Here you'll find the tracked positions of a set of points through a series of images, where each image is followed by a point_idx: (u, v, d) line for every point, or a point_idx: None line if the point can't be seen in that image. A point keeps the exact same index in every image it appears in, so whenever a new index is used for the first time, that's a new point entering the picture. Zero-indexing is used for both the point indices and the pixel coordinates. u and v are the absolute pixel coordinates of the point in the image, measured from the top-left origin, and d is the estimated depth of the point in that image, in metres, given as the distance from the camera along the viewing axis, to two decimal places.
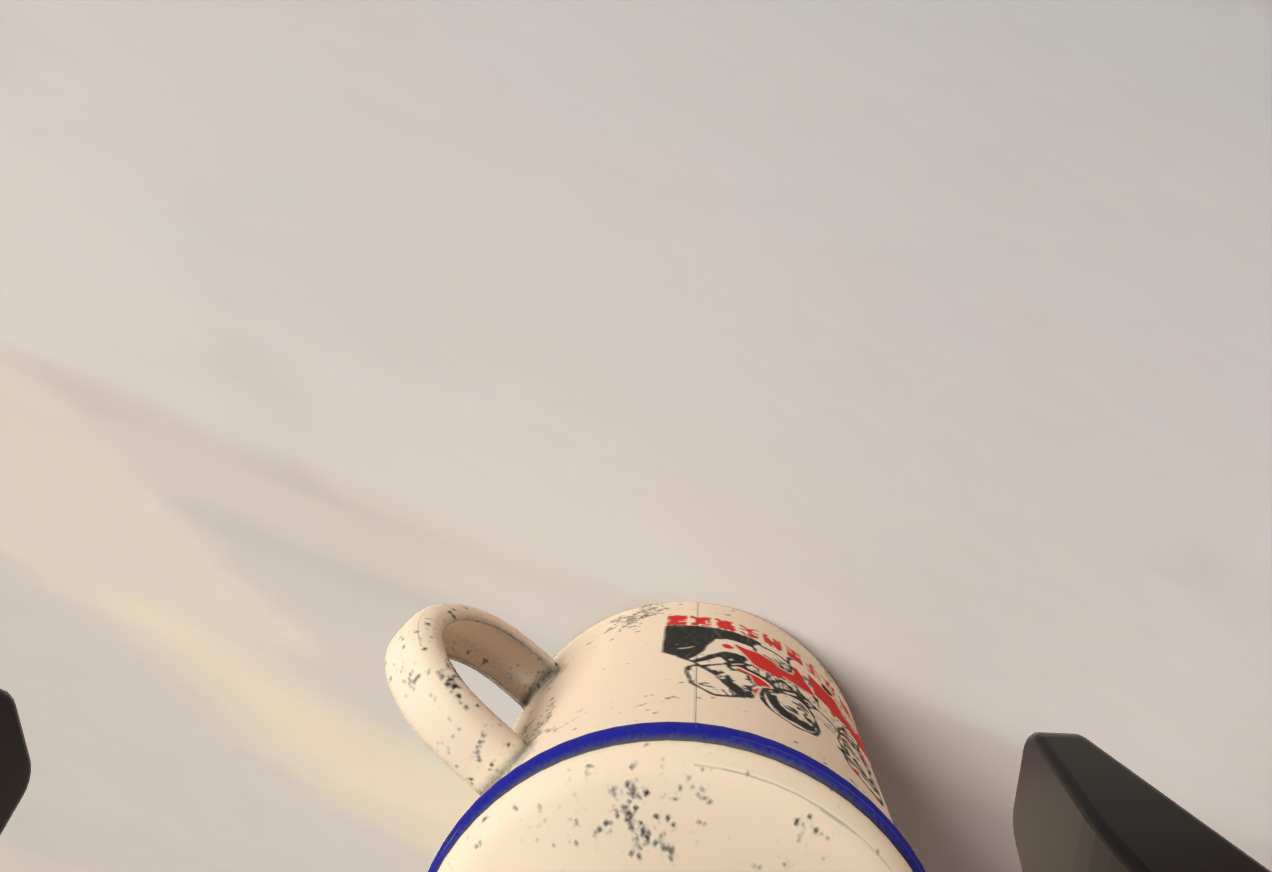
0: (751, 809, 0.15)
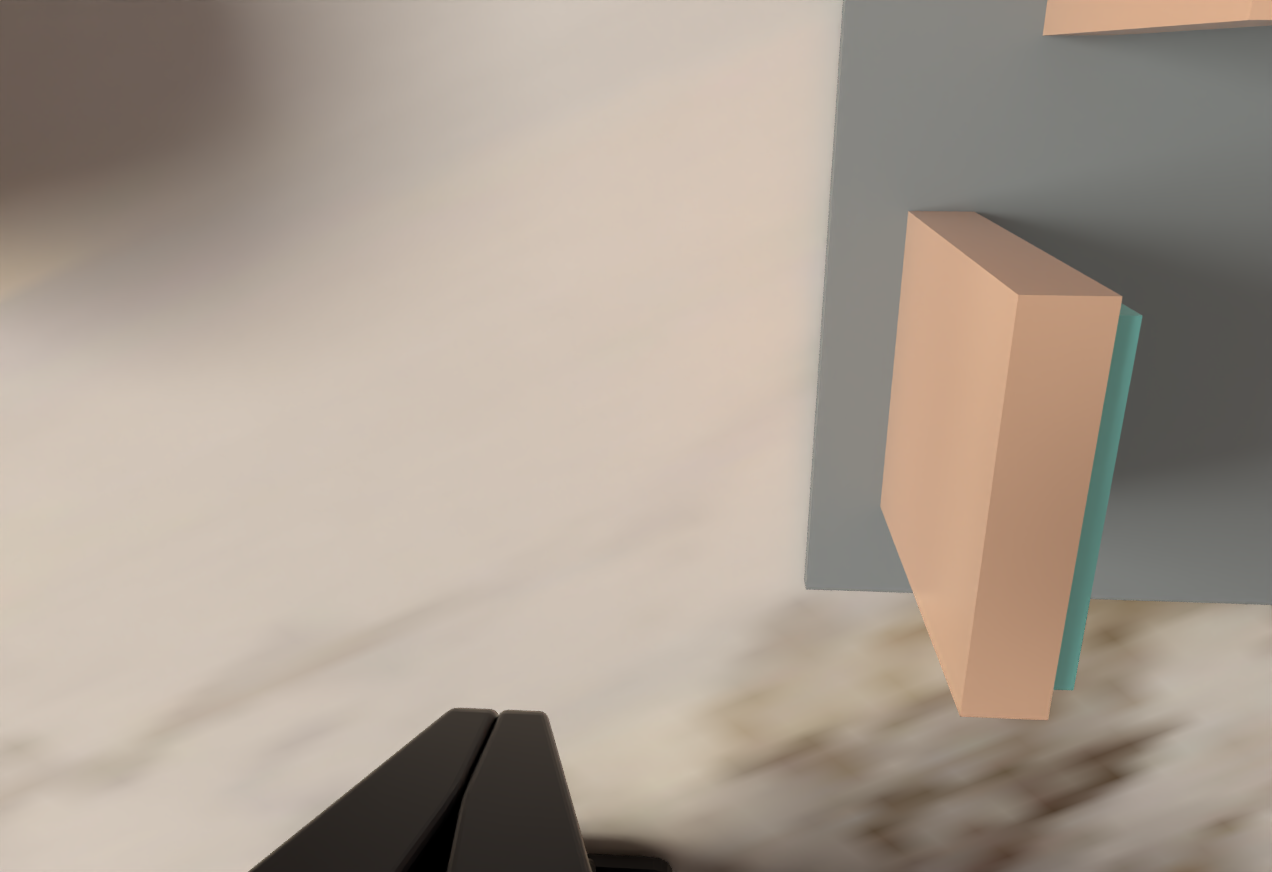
0: None
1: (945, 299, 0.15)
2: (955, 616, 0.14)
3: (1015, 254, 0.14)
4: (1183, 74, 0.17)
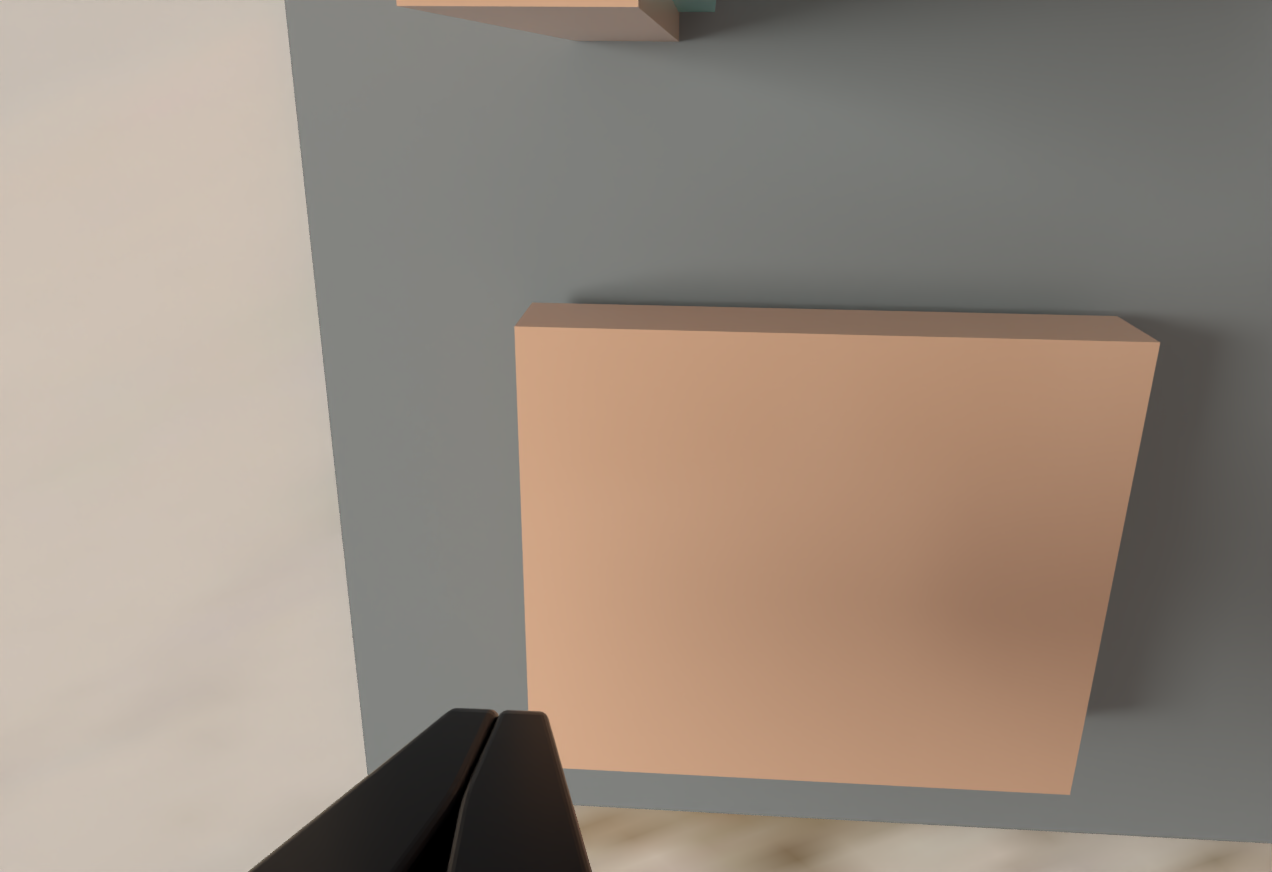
0: None
1: (828, 408, 0.11)
2: (1014, 720, 0.12)
3: (891, 320, 0.11)
4: (786, 100, 0.12)
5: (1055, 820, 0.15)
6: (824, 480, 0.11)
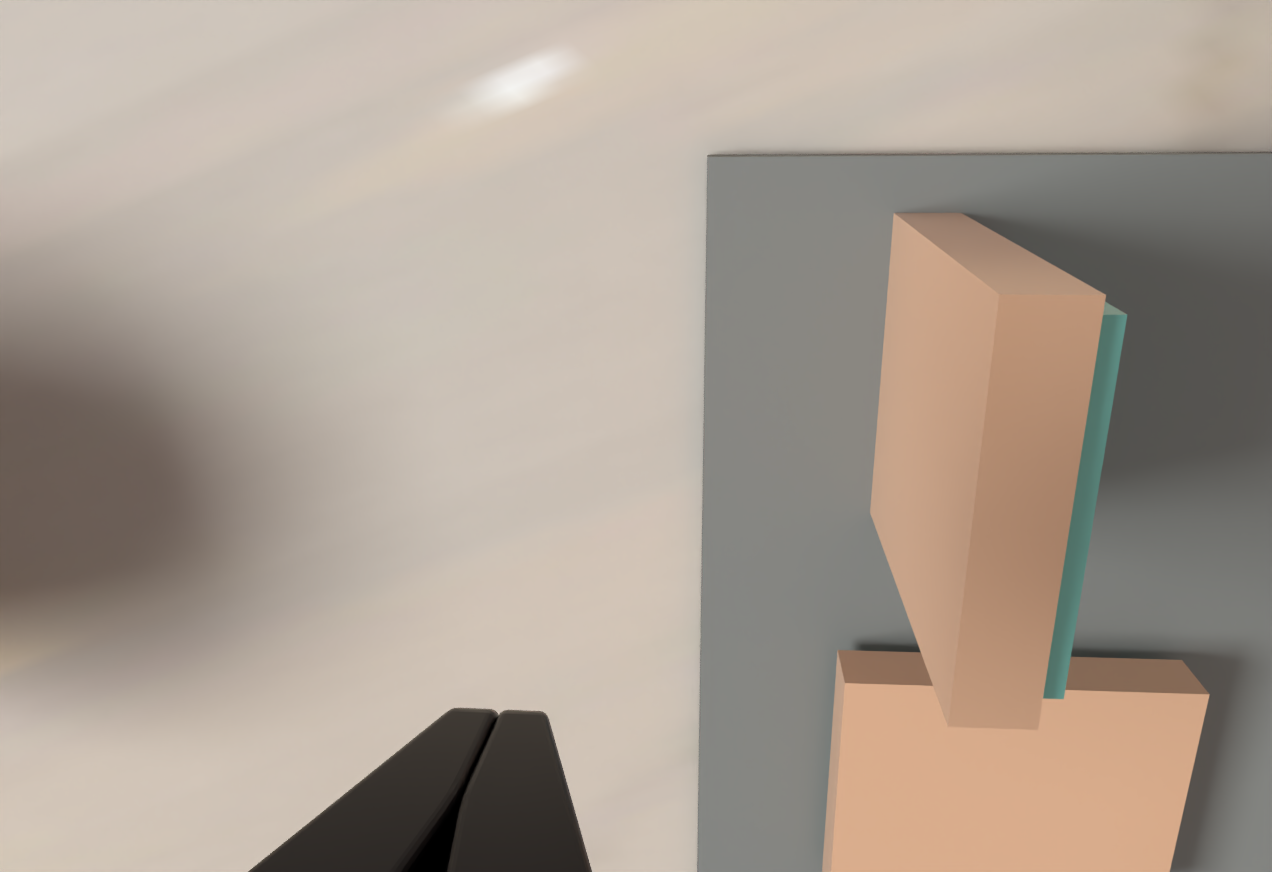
0: None
1: None
2: None
3: None
4: None
5: None
6: (1017, 761, 0.20)
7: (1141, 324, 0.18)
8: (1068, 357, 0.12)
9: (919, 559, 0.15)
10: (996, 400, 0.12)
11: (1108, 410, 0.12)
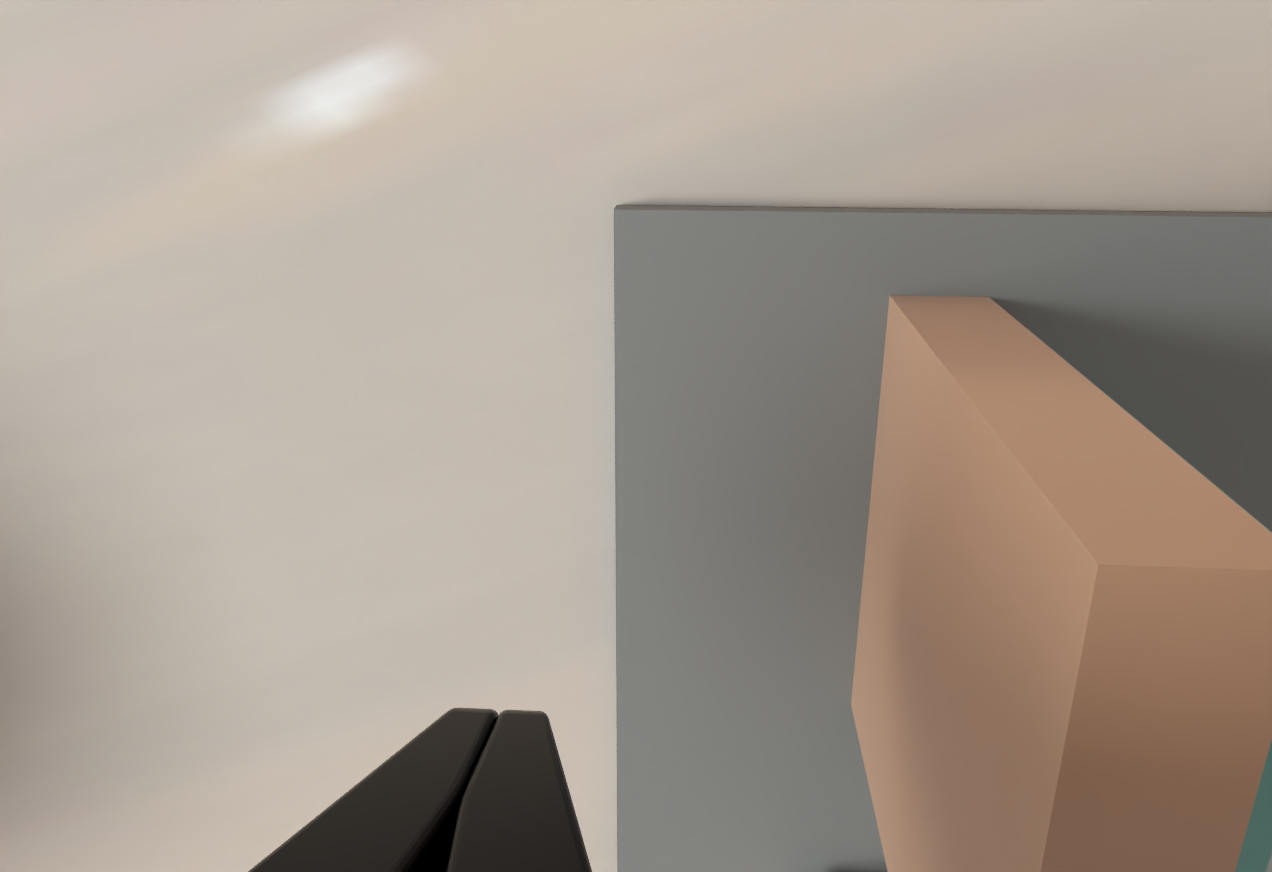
0: None
1: None
2: None
3: None
4: None
5: None
6: None
7: (1250, 460, 0.13)
8: (1231, 682, 0.06)
9: None
10: (1082, 751, 0.06)
11: None
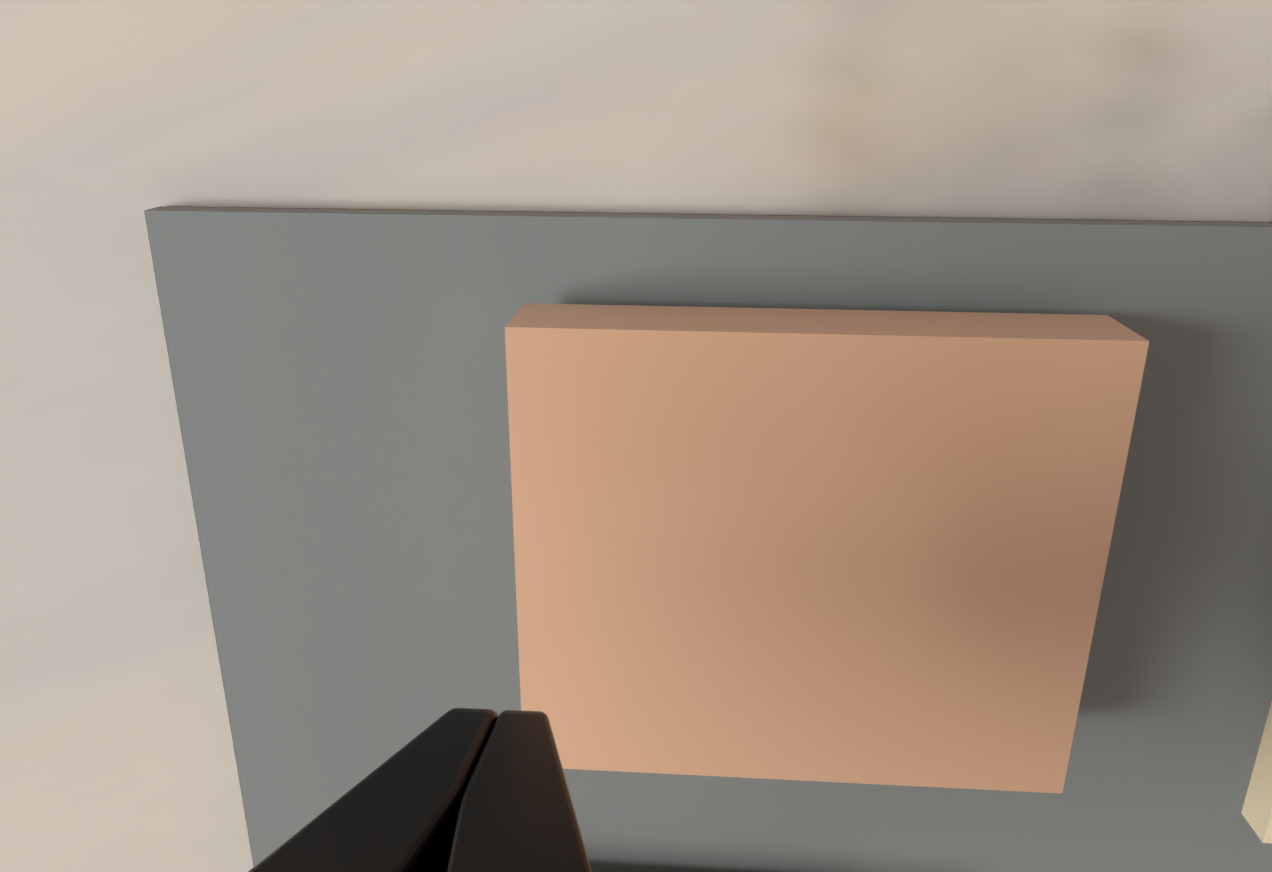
0: None
1: None
2: None
3: None
4: None
5: None
6: None
7: None
8: None
9: (869, 702, 0.12)
10: (1124, 448, 0.11)
11: None
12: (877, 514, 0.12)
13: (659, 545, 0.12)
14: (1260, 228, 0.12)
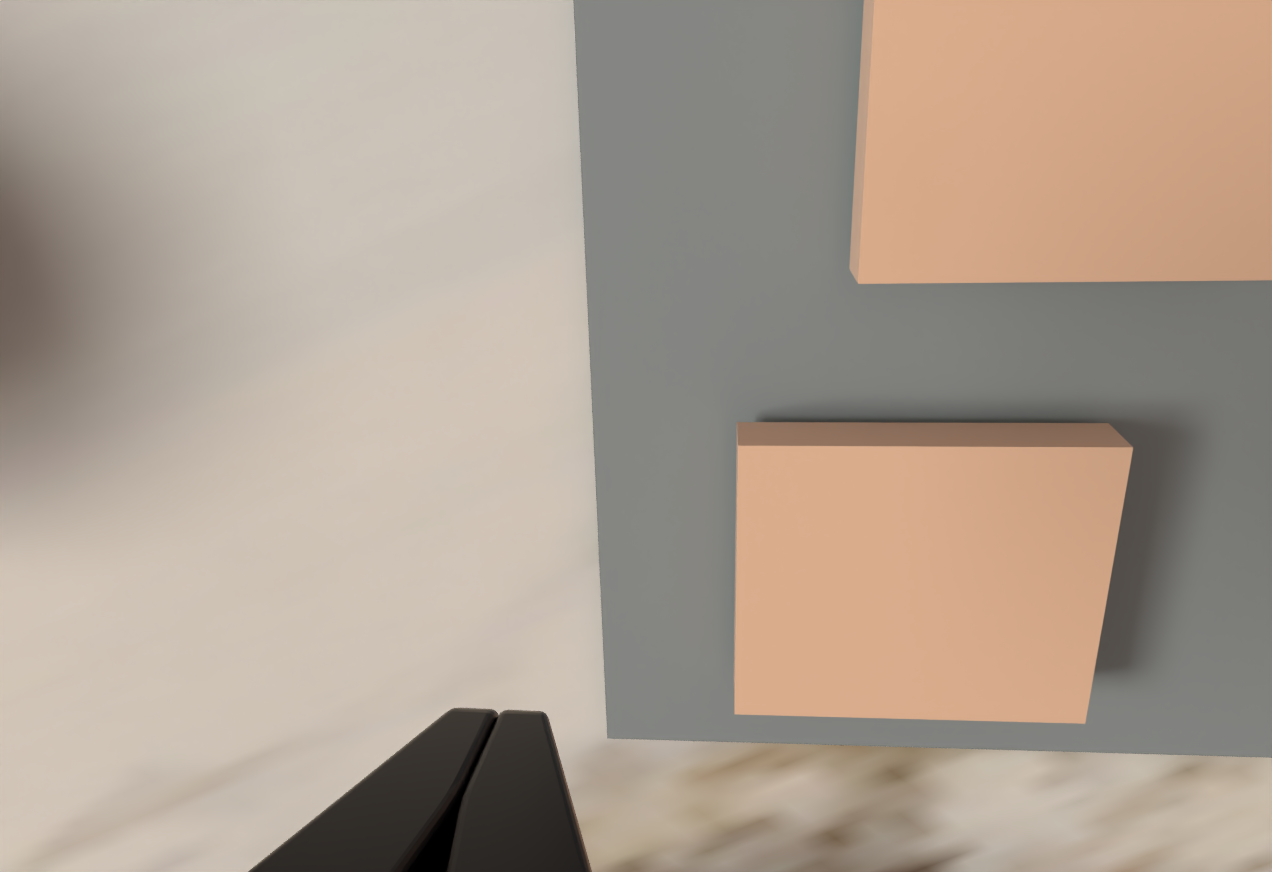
0: None
1: (931, 489, 0.18)
2: (1048, 677, 0.19)
3: (967, 432, 0.18)
4: (898, 297, 0.18)
5: (1077, 744, 0.22)
6: (927, 532, 0.18)
7: None
8: None
9: (1140, 205, 0.16)
10: None
11: None
12: (1158, 33, 0.15)
13: (984, 72, 0.15)
14: None
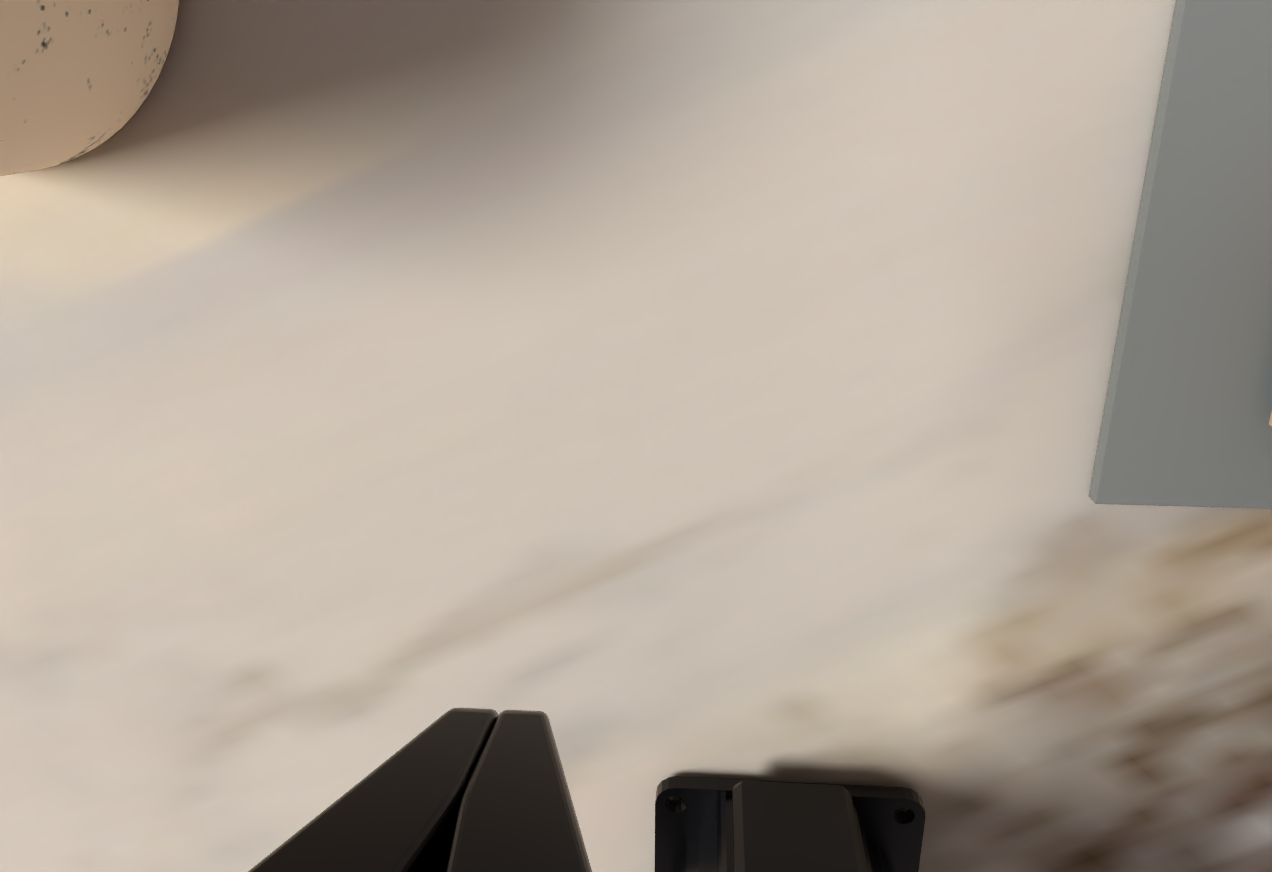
0: None
1: None
2: None
3: None
4: None
5: None
6: None
7: None
8: None
9: None
10: None
11: None
12: None
13: None
14: None
